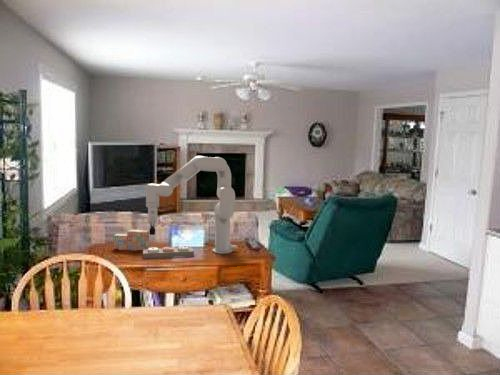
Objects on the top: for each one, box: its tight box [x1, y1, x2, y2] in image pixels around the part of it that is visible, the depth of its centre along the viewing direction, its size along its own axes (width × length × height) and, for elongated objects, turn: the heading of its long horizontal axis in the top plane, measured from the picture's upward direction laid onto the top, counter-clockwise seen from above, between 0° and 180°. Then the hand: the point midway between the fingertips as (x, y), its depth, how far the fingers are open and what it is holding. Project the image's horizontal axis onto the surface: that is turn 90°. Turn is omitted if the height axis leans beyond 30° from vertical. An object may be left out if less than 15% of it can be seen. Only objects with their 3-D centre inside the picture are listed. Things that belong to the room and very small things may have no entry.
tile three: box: [162, 246, 174, 252], centre depth 270 cm, size 6×6×3 cm
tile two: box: [177, 245, 188, 251], centre depth 272 cm, size 6×6×3 cm
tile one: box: [148, 247, 159, 253], centre depth 268 cm, size 6×6×3 cm
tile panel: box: [142, 246, 195, 259], centre depth 270 cm, size 30×10×3 cm, turn 103°
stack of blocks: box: [112, 229, 150, 251], centre depth 283 cm, size 21×6×12 cm, turn 84°
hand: (152, 234), depth 267 cm, fingers closed
